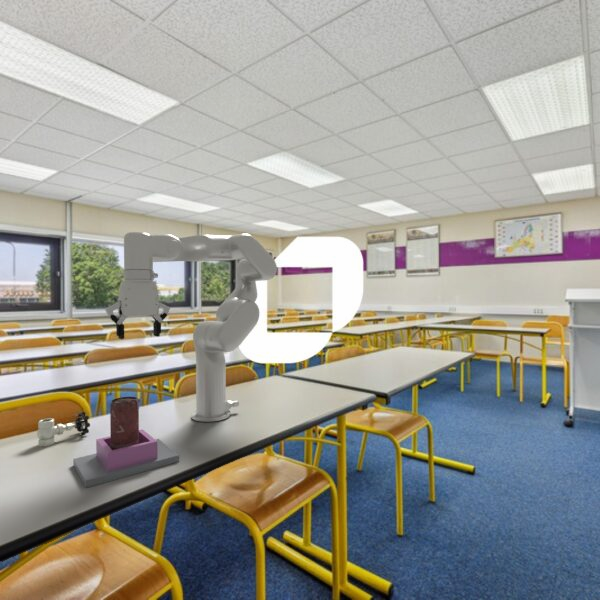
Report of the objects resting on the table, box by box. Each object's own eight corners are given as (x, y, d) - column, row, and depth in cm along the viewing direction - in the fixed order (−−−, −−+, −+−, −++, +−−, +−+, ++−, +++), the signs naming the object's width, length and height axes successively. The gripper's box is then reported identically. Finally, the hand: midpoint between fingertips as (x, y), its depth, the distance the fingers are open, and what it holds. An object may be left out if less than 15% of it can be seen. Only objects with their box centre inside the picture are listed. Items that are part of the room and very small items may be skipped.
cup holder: (158, 444, 104) (158, 423, 104) (179, 461, 93) (178, 438, 93) (73, 465, 91) (73, 442, 91) (85, 487, 80) (85, 461, 80)
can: (136, 462, 89) (135, 401, 89) (107, 464, 88) (106, 403, 88) (142, 452, 95) (142, 395, 95) (115, 453, 94) (115, 396, 94)
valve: (42, 449, 101) (90, 436, 110) (42, 424, 101) (90, 413, 110) (33, 444, 105) (79, 431, 114) (32, 419, 105) (79, 409, 114)
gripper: (164, 278, 117) (164, 334, 118) (101, 276, 106) (102, 338, 106) (173, 277, 112) (174, 336, 112) (109, 275, 101) (109, 341, 101)
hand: (139, 337), depth 109 cm, fingers open, 9 cm apart
